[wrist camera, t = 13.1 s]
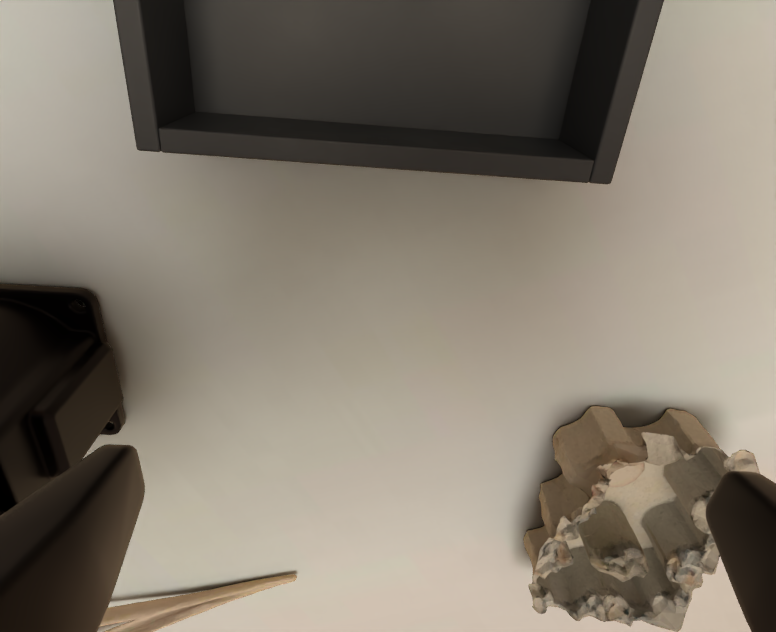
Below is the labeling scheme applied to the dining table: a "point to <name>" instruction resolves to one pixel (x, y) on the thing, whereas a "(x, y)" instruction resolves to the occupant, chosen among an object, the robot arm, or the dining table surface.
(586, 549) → the egg carton
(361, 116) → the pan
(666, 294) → the dining table surface
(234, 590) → the animal skull
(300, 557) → the dining table surface
